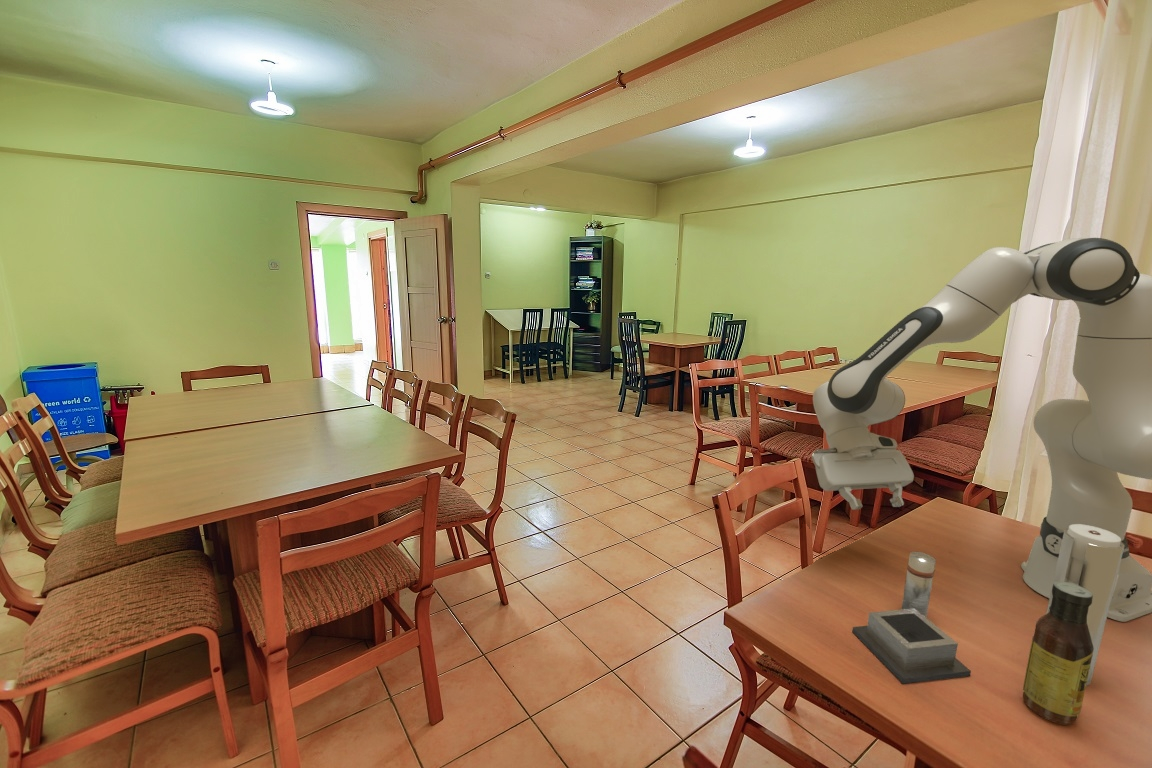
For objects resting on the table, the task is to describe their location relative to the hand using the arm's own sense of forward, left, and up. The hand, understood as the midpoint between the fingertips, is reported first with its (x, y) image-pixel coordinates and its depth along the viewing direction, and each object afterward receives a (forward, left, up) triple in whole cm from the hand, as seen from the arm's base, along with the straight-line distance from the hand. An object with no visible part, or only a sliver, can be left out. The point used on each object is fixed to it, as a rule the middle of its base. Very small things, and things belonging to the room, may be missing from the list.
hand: (878, 507), depth 103 cm
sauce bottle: (-3, +34, -16) cm, 38 cm away
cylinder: (0, +12, -16) cm, 20 cm away
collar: (+9, +21, -16) cm, 28 cm away
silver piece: (-13, +28, -16) cm, 35 cm away
